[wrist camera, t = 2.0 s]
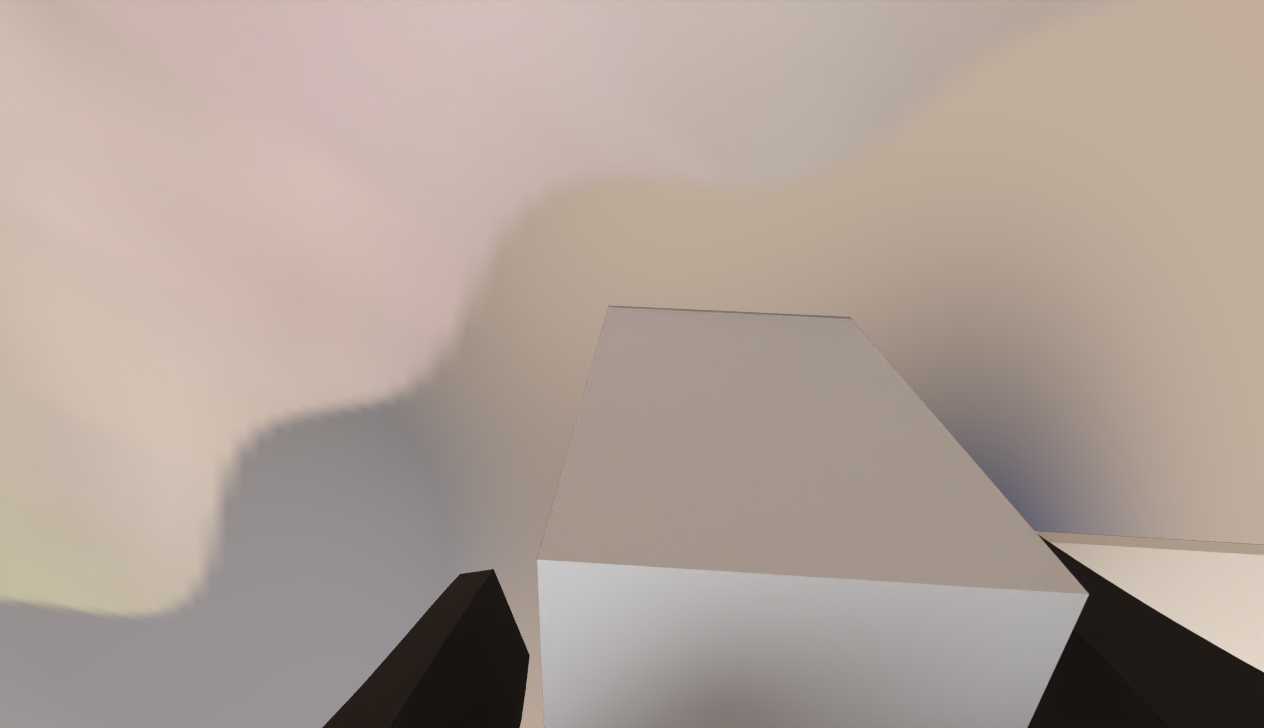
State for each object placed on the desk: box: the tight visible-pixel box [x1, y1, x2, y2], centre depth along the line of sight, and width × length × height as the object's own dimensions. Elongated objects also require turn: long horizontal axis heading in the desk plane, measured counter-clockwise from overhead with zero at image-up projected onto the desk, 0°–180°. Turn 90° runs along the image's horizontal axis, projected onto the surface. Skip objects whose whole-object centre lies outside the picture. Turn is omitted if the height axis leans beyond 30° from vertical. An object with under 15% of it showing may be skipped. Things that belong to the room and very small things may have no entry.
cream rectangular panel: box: [1035, 531, 1264, 672], centre depth 12 cm, size 6×8×1 cm
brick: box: [537, 305, 1089, 728], centre depth 9 cm, size 4×8×6 cm, turn 178°
